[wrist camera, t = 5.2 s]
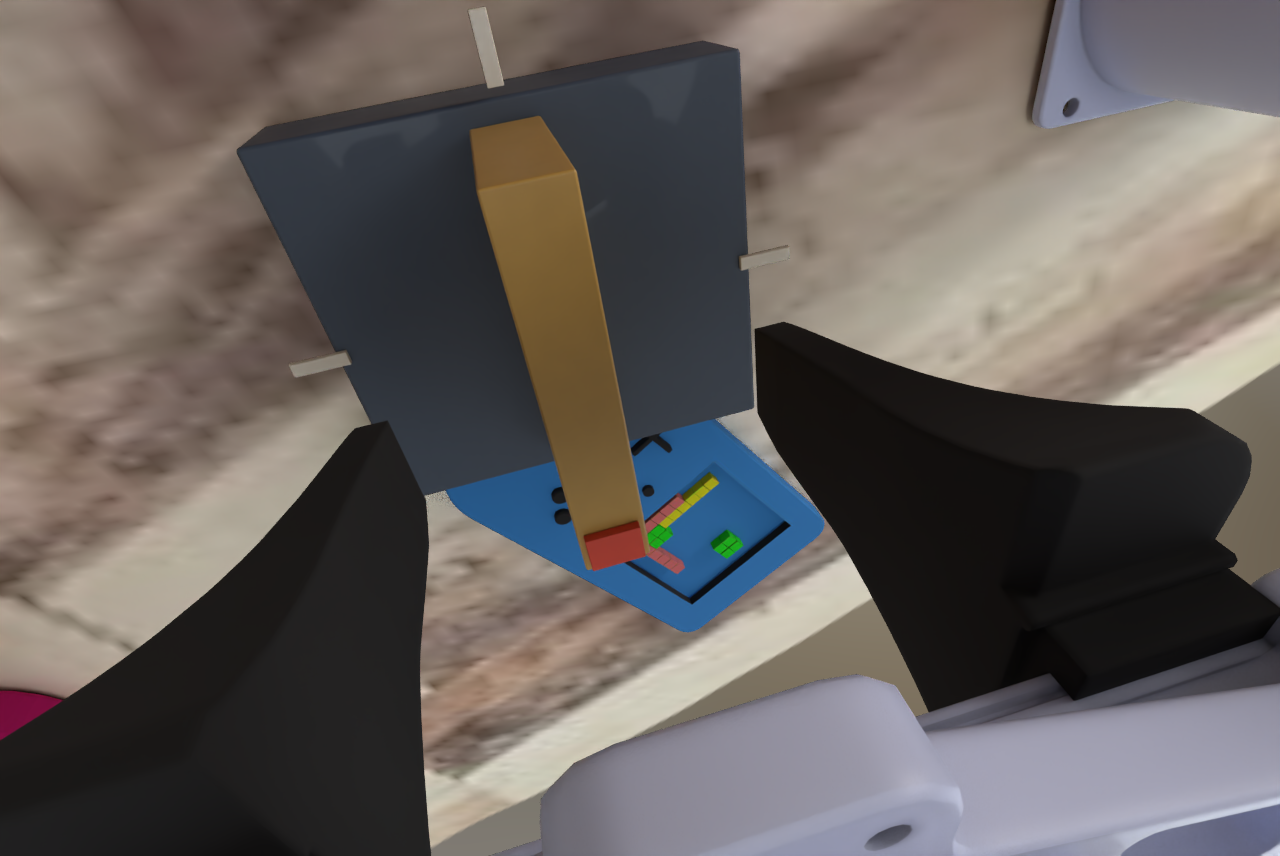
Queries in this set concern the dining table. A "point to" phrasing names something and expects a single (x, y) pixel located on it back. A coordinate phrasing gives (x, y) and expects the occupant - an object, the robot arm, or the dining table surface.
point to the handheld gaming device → (666, 522)
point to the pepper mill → (21, 709)
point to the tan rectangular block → (561, 330)
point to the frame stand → (467, 268)
